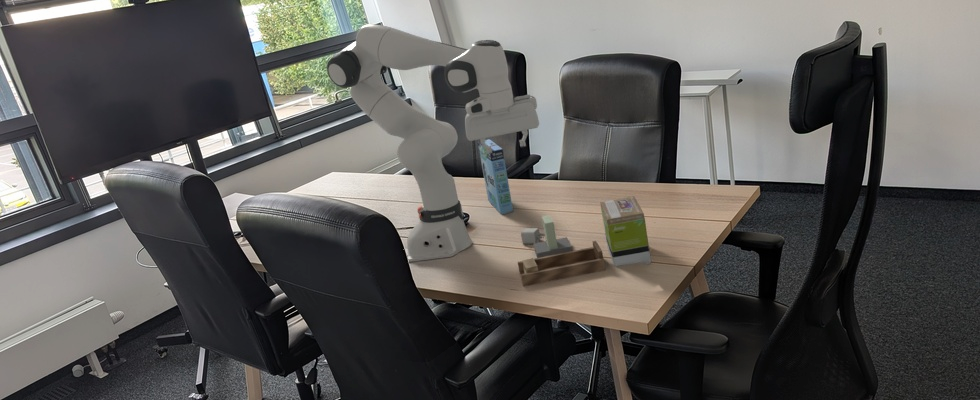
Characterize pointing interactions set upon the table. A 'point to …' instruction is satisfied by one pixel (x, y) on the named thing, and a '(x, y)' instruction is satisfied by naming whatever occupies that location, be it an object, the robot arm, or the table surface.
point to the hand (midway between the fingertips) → (506, 149)
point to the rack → (564, 265)
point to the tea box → (625, 231)
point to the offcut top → (530, 265)
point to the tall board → (549, 232)
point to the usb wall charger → (531, 235)
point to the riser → (543, 249)
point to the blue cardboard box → (496, 177)
